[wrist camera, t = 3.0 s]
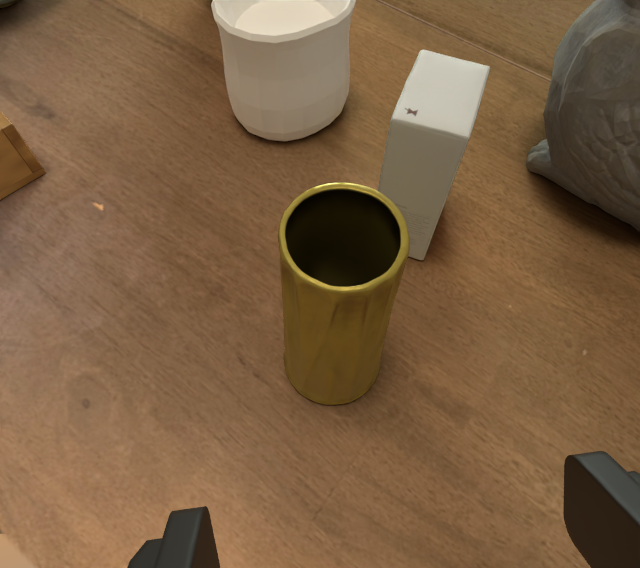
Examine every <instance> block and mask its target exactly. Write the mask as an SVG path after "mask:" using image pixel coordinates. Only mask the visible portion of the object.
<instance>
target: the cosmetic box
mask: <svg viewBox="0 0 640 568" xmlns="http://www.w3.org/2000/svg"><path fill="white" fill-rule="evenodd" d="M489 71H490V67H489V66H486V65H482V64H478V63H474V62H470V61H465V60H462V59H458V58H454V57H450V56H446V55H442V54H438V53H434V52H431V51H427V50H421V51H420V52H419V55H418V57H417V59H416V62H415V64H414V66H413V69H412V71H411V73H410V75H409V77H408V79H407V81H406V83H405V86H404V89H403V91H402V94H401V96H400V98H399V101H398V103H397V106H396V108H395V111H394V113H393V116H392V118H391V122H390V127H389V131H388V137H387V141H386V147H385V154H384V159H383V165H382V170H381V175H380V181H379V186H378V191H379V192H380V193H382V194H384V195H385V196H386V197H387V198H389V199H390V200H391V201H392V202H393V203H394V204H395V205H396V206H397V208H398V209H399V210H400V212H401V213H402V215H403V217H404V219H405V221H406V225H407V228H408V233H409V237H410V249H409V255H408V256H409V257H412V258H415V259H418V260H423V259H424V258H425V255H426V252H427V250H428V247H429V244H430V242H431V239H432V236H433V234H434V231H435V228H436V226H437V223H438V220H439V218H440V215H441V213H442V210H443V208H444V205H445V202H446V199H447V197H448V194H449V191H450V189H451V186H452V183H453V181H454V178H455V175H456V173H457V170H458V167H459V165H460V162H461V159H462V157H463V154H464V151H465V149H466V146H467V143H468V141H469V138H470V135H471V132H472V129H473V126H474V124H475V120H476V117H477V114H478V110H479V106H480V102H481V98H482V95H483V91H484V88H485V84H486V81H487V78H488V74H489Z"/></svg>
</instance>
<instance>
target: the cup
mask: <svg viewBox="0 0 640 568" xmlns="http://www.w3.org/2000/svg"><path fill="white" fill-rule="evenodd" d="M355 3H356V0H213V1H212V4H211V7H212V11H213V16H214V19H215V21H216V23H217V26H218V29H219V33H220V38H221V43H222V51H223V61H224V74H225V80H226V86H227V91H228V96H229V100H230V104H231V107H232V110H233V113H234V114H235V116H236V118H237V120H238V121H239V122H240V123H241V124H242V125H243V126H244V127H245V128H246V130H247V131H248V132H250V133H252V134H254V135H257V136H259V137H262V138H265V139H267V140H275V141H290V140H296V139H301V138H304V137H306V136H309V135H311V134H314V133H316V132H318V131H319V130H321V129H323V128H324V127H326V126H328V125H329V124H330V123H331V122H332V121H333V120H334V119H335V118H336V117H337V116H338V115H339V114H340V113H341V112H342V109H343V107H344V104H345V102H346V99H347V96H348V93H349V79H350V57H349V29H350V23H351V18H352V12H353V9H354V5H355Z"/></svg>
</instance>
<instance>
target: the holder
mask: <svg viewBox="0 0 640 568" xmlns="http://www.w3.org/2000/svg"><path fill="white" fill-rule="evenodd" d="M45 173H46V172H45V170H44V169H43V168H42V166H41V165H40V163H39V162H38V160H37V159H36V157H35V156H34V155H33V153H32V152H31V150H30V149H29V147H28V146H27V144H26V143H25V142H24V140H23V139H22V137H21V136H20V134H19V133H18V131H17V130H16V129H15V127H14V126H13V124H12V123H11V122H10V121H9V120H8V119H7V118H6V116H5V115H4V114H3V113H2V112H1V111H0V200H1V199H2V198H4V197H6V196H7V195H9V194H11V193H12V192H14V191H16V190H18V189H19V188H21V187H23V186H24V185H26V184H28V183H29V182H31V181H33V180H35V179H36V178H38V177H40V176H41V175H43V174H45Z"/></svg>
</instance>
